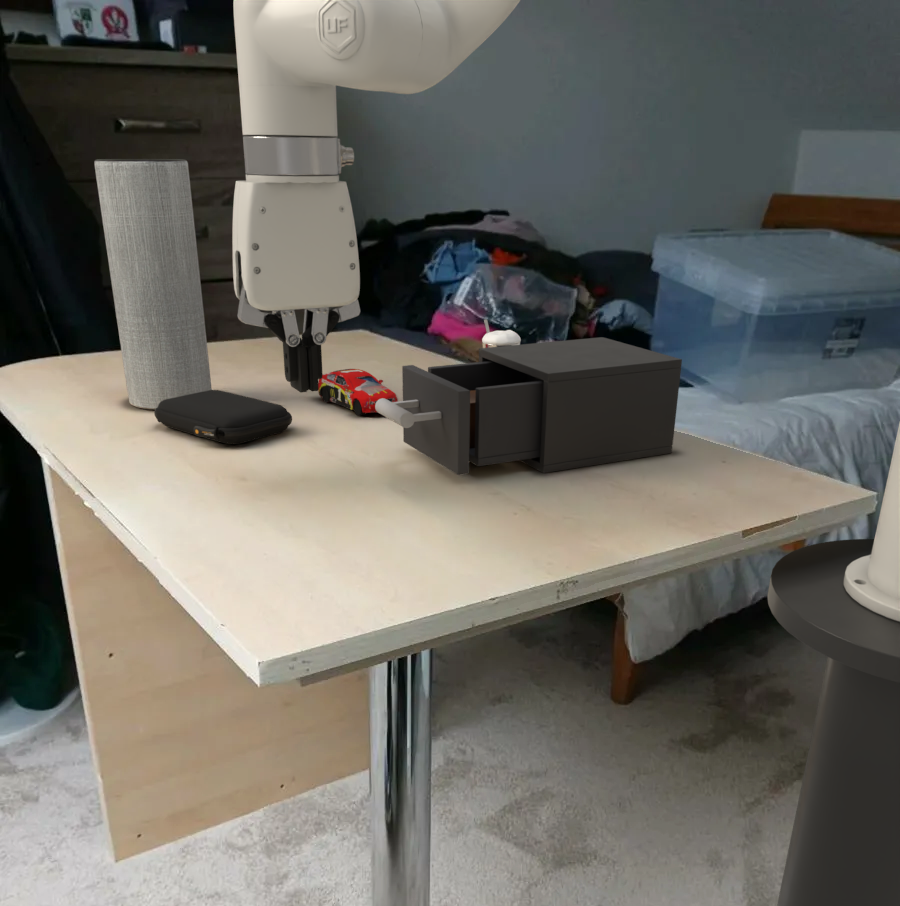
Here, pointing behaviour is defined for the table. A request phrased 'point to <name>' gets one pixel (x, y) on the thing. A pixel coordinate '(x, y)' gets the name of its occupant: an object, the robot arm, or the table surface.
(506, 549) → the table surface
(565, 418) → the cabinet
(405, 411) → the drawer
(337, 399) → the race car
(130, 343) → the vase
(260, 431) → the carrying case
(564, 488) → the table surface
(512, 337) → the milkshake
